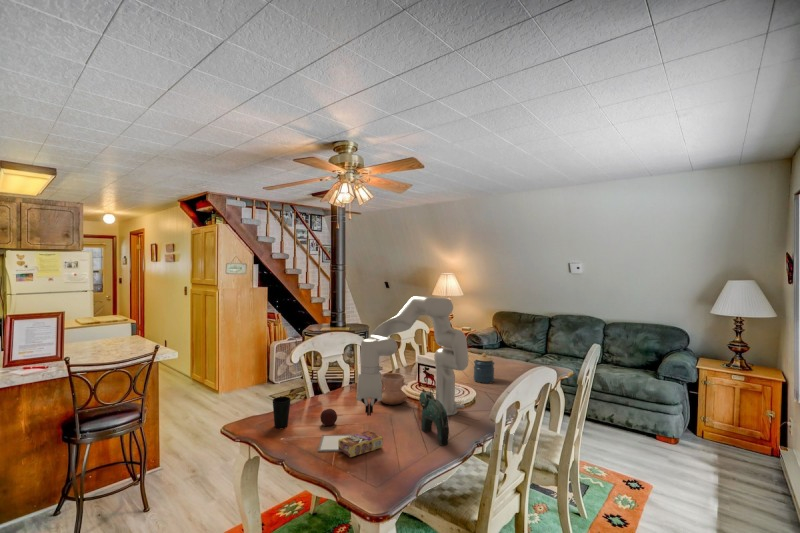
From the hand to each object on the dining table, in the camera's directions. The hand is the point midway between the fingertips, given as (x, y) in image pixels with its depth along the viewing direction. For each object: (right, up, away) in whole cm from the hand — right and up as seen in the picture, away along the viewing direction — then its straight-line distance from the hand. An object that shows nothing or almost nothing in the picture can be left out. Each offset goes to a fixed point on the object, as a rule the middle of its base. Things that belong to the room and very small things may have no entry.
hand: (369, 414), depth 160 cm
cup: (-40, -11, +15) cm, 45 cm away
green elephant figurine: (+27, -12, +7) cm, 31 cm away
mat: (-9, -12, -1) cm, 14 cm away
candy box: (+3, -9, -1) cm, 10 cm away
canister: (+66, -13, +91) cm, 113 cm away
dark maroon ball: (-20, -12, +18) cm, 29 cm away
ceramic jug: (+8, -12, +49) cm, 51 cm away
